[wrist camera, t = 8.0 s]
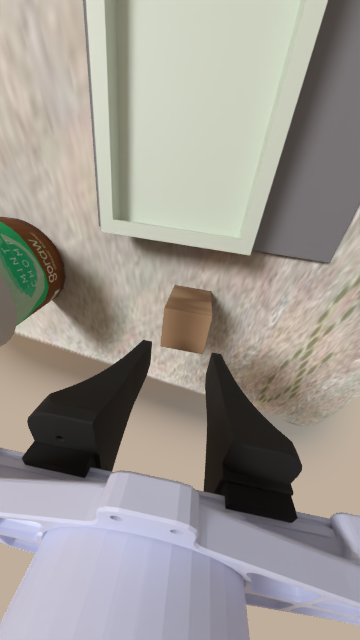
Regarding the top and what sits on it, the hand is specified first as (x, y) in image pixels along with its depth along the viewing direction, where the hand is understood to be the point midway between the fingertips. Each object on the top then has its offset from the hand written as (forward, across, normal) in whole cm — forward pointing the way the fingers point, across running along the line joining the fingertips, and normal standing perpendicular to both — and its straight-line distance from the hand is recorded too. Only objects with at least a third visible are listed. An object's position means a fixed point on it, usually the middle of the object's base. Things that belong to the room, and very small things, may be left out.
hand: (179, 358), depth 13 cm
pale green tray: (+9, +2, -15) cm, 18 cm away
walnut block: (+10, 0, 0) cm, 10 cm away
